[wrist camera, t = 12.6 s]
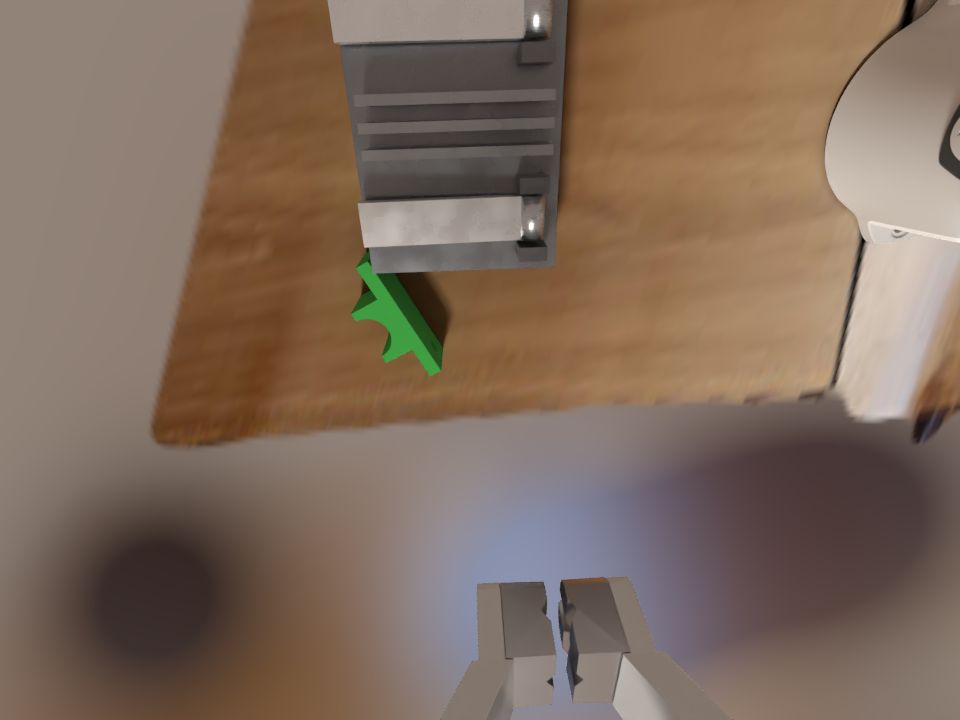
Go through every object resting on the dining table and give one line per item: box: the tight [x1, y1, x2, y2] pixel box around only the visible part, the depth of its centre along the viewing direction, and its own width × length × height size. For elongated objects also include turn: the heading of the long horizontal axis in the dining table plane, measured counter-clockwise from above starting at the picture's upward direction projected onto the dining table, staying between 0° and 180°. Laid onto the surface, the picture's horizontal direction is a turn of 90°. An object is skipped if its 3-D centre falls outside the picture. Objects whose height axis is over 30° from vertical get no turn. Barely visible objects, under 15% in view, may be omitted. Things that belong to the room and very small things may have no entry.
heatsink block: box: [340, 0, 568, 274], centre depth 32 cm, size 14×20×8 cm
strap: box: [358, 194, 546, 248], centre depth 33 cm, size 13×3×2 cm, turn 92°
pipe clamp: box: [351, 252, 443, 376], centre depth 40 cm, size 11×4×5 cm, turn 28°
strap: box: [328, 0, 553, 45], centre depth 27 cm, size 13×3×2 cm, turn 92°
